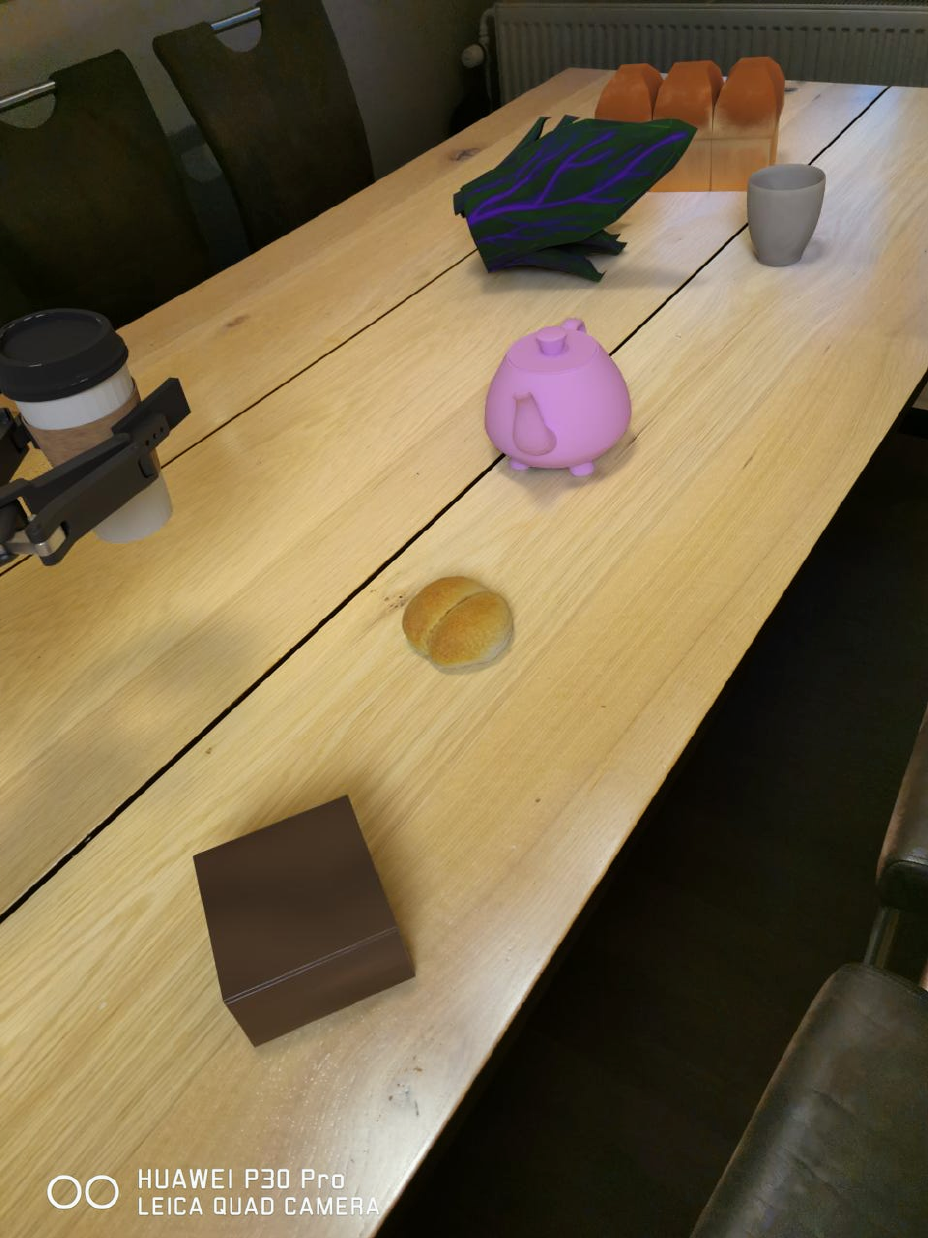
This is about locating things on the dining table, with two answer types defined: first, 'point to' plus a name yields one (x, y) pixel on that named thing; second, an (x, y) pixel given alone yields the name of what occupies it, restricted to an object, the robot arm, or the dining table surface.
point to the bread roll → (458, 622)
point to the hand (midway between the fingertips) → (134, 389)
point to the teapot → (557, 400)
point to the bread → (706, 117)
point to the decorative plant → (568, 191)
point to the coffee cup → (78, 400)
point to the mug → (784, 210)
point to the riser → (299, 921)
